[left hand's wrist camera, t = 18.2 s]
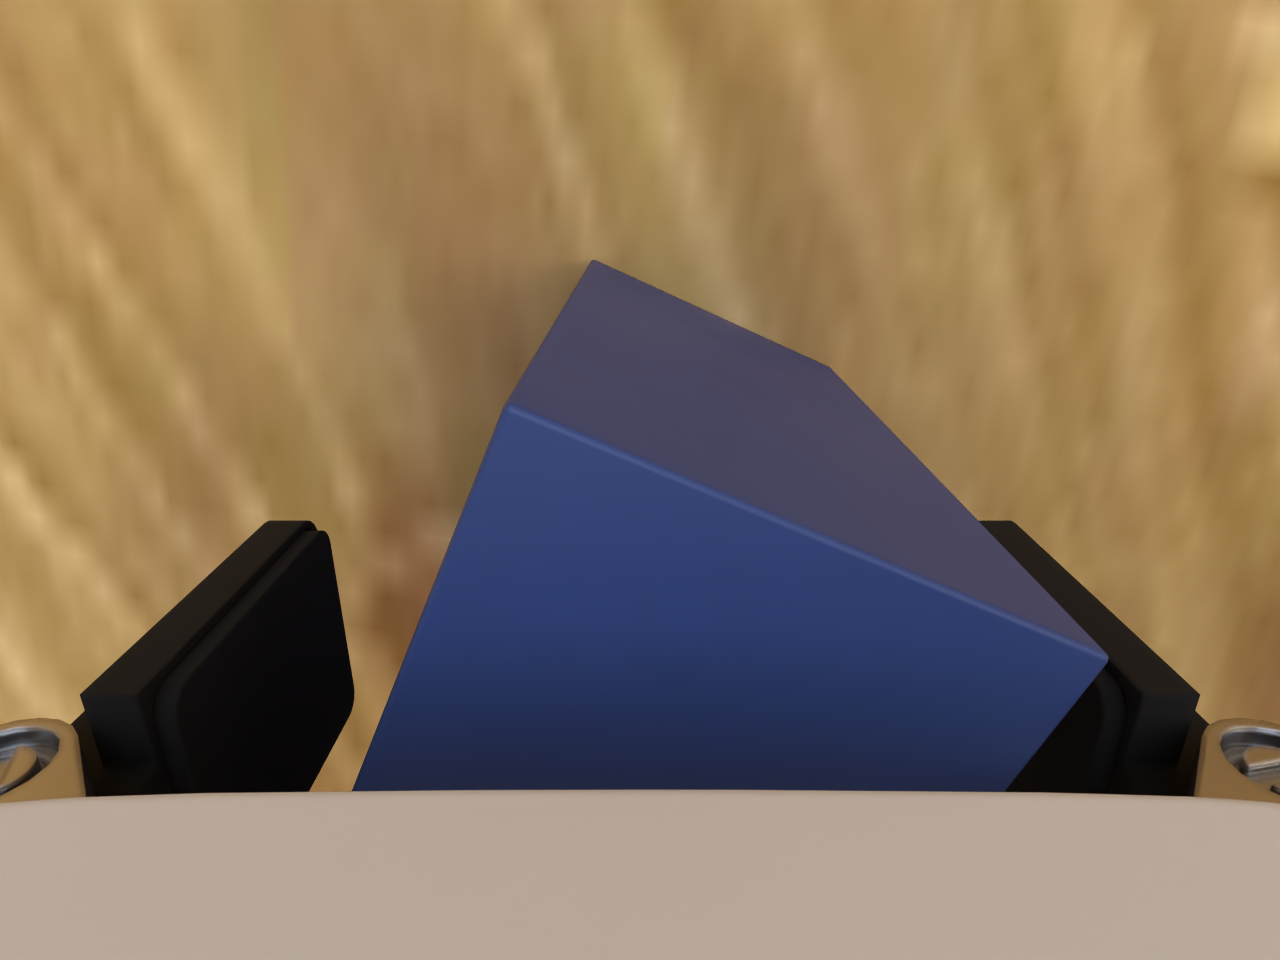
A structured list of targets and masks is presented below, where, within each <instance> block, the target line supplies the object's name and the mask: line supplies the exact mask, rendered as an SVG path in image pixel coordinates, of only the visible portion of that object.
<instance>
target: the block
mask: <svg viewBox="0 0 1280 960" xmlns="http://www.w3.org/2000/svg"><path fill="white" fill-rule="evenodd" d="M1108 659H1109V658H1108V655H1107V654H1106V653H1105V651H1104V650H1103V649H1102V648H1101V647H1100V646H1099V645H1098V644H1097V643H1096V642H1095V641H1094V640H1093V639H1092V638H1091V637H1090V636H1089V635H1088V634H1087V633H1086V632H1085V631H1084V630H1083V629H1082V628H1081V627H1080V626H1079V625H1078V623H1077V622H1076V621H1075V620H1074V619H1073V618H1072V617H1071V616H1070V615H1069V614H1068V613H1067V612H1066V611H1065V610H1064V609H1063V608H1062V607H1061V606H1060V605H1059V604H1058V603H1057V602H1056V601H1055V600H1054V599H1053V598H1052V597H1051V596H1050V595H1049V593H1048V592H1047V591H1046V590H1045V589H1044V588H1043V587H1042V586H1041V585H1040V584H1039V583H1038V582H1037V581H1036V580H1035V579H1034V578H1033V577H1032V576H1031V575H1030V574H1029V573H1028V572H1027V571H1026V570H1025V569H1024V568H1023V567H1022V566H1021V565H1020V564H1019V562H1018V561H1017V560H1016V559H1015V558H1014V557H1013V556H1012V555H1011V554H1010V553H1009V552H1008V551H1007V550H1006V549H1005V548H1004V547H1003V546H1002V545H1001V544H1000V543H999V542H998V541H997V540H996V539H995V538H994V537H993V536H992V535H991V534H990V533H989V531H988V530H987V529H986V528H985V527H984V526H983V525H982V524H981V523H980V522H979V521H978V520H977V519H976V518H975V517H974V516H973V515H972V514H971V513H970V512H969V511H968V510H967V509H966V508H965V507H964V506H963V505H962V504H961V503H960V502H959V500H958V499H957V498H956V497H955V496H954V495H953V494H952V493H951V492H950V491H949V490H948V489H947V488H946V487H945V486H944V485H943V484H942V483H941V482H940V481H939V480H938V479H937V478H936V477H935V476H934V475H933V474H932V473H931V472H930V470H929V469H928V468H927V467H926V466H925V465H924V464H923V463H922V462H921V461H920V460H919V459H918V458H917V457H916V456H915V455H914V454H913V453H912V452H911V451H910V450H909V449H908V448H907V447H906V446H905V445H904V444H903V443H902V442H901V441H900V439H899V438H898V437H897V436H896V435H895V434H894V433H893V432H892V431H891V430H890V429H889V428H888V427H887V426H886V425H885V424H884V423H883V422H882V421H881V420H880V419H879V418H878V417H877V416H876V415H875V414H874V413H873V412H872V411H871V410H870V408H869V407H868V406H867V405H866V404H865V403H864V402H863V401H862V400H861V399H860V398H859V397H858V396H857V395H856V394H855V393H854V392H853V391H852V390H851V389H850V388H849V387H848V386H847V385H846V384H845V383H844V382H843V381H842V380H841V379H840V377H839V376H838V375H837V374H836V373H835V372H834V371H833V370H832V369H831V368H830V367H828V366H825V365H823V364H821V363H819V362H817V361H815V360H812V359H810V358H808V357H806V356H804V355H801V354H799V353H797V352H795V351H793V350H790V349H788V348H786V347H784V346H782V345H780V344H777V343H775V342H773V341H771V340H769V339H766V338H764V337H762V336H760V335H758V334H755V333H753V332H751V331H749V330H747V329H745V328H742V327H740V326H738V325H736V324H734V323H731V322H729V321H727V320H725V319H723V318H721V317H718V316H716V315H714V314H712V313H710V312H707V311H705V310H703V309H701V308H699V307H696V306H694V305H692V304H690V303H688V302H686V301H683V300H681V299H679V298H677V297H675V296H672V295H670V294H668V293H666V292H664V291H661V290H659V289H657V288H655V287H653V286H651V285H648V284H646V283H644V282H642V281H640V280H637V279H635V278H633V277H631V276H629V275H626V274H624V273H622V272H620V271H618V270H616V269H613V268H611V267H609V266H607V265H605V264H602V263H600V262H598V261H596V260H592V261H591V263H590V264H589V266H588V268H587V269H586V271H585V273H584V274H583V276H582V278H581V279H580V281H579V283H578V284H577V286H576V288H575V289H574V291H573V293H572V294H571V296H570V298H569V299H568V301H567V302H566V304H565V306H564V307H563V309H562V311H561V312H560V314H559V316H558V317H557V319H556V321H555V322H554V324H553V326H552V327H551V329H550V331H549V332H548V334H547V336H546V337H545V339H544V341H543V342H542V344H541V346H540V347H539V349H538V351H537V352H536V354H535V356H534V357H533V359H532V361H531V362H530V364H529V366H528V367H527V369H526V371H525V372H524V374H523V376H522V377H521V379H520V380H519V382H518V384H517V385H516V387H515V389H514V390H513V392H512V394H511V395H510V397H509V399H508V400H507V402H506V404H505V405H504V407H503V409H502V412H501V414H500V417H499V419H498V422H497V425H496V427H495V430H494V432H493V435H492V437H491V440H490V442H489V445H488V447H487V450H486V452H485V455H484V458H483V460H482V463H481V465H480V468H479V470H478V473H477V475H476V478H475V480H474V483H473V485H472V488H471V490H470V493H469V496H468V498H467V501H466V503H465V506H464V508H463V511H462V513H461V516H460V518H459V521H458V523H457V526H456V529H455V531H454V534H453V536H452V539H451V541H450V544H449V546H448V549H447V551H446V554H445V556H444V559H443V561H442V564H441V567H440V569H439V572H438V574H437V577H436V579H435V582H434V584H433V587H432V589H431V592H430V594H429V597H428V600H427V602H426V605H425V607H424V610H423V612H422V615H421V617H420V620H419V622H418V625H417V627H416V630H415V632H414V635H413V638H412V640H411V643H410V645H409V648H408V650H407V653H406V655H405V658H404V660H403V663H402V665H401V668H400V671H399V673H398V676H397V678H396V681H395V683H394V686H393V688H392V691H391V693H390V696H389V698H388V701H387V703H386V706H385V709H384V711H383V714H382V716H381V719H380V721H379V724H378V726H377V729H376V731H375V734H374V736H373V739H372V741H371V744H370V747H369V749H368V752H367V754H366V757H365V759H364V762H363V764H362V767H361V769H360V772H359V774H358V777H357V780H356V782H355V785H354V787H353V790H352V791H439V790H817V791H930V792H1005V791H1006V789H1007V788H1008V787H1009V786H1010V784H1011V783H1012V782H1013V781H1014V779H1015V778H1016V777H1017V776H1018V774H1019V773H1020V772H1021V771H1022V769H1023V768H1024V767H1025V766H1026V764H1027V763H1028V762H1029V761H1030V759H1031V758H1032V757H1033V756H1034V754H1035V753H1036V752H1037V750H1038V749H1039V748H1040V747H1041V745H1042V744H1043V743H1044V742H1045V740H1046V739H1047V738H1048V737H1049V735H1050V734H1051V733H1052V732H1053V730H1054V729H1055V728H1056V727H1057V725H1058V724H1059V723H1060V722H1061V720H1062V719H1063V718H1064V716H1065V715H1066V714H1067V713H1068V711H1069V710H1070V709H1071V708H1072V706H1073V705H1074V704H1075V703H1076V701H1077V700H1078V699H1079V698H1080V696H1081V695H1082V694H1083V693H1084V691H1085V690H1086V689H1087V688H1088V686H1089V685H1090V684H1091V683H1092V681H1093V680H1094V679H1095V677H1096V676H1097V675H1098V674H1099V672H1100V671H1101V670H1102V669H1103V667H1104V666H1105V665H1106V664H1107V662H1108Z"/></svg>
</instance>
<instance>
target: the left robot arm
mask: <svg viewBox="0 0 1280 960" xmlns="http://www.w3.org/2000/svg"><path fill="white" fill-rule="evenodd" d="M979 522H980V523H981V524H982V525H983V526H984V527H985V528H986V529H987V530H988V531H989V533H990V534H991V535H992V536H993V537H994V538H995V539H996V540H997V541H998V542H999V543H1000V544H1001V545H1002V546H1003V547H1004V548H1005V549H1006V550H1007V551H1008V552H1009V553H1010V554H1011V555H1012V556H1013V557H1014V558H1015V559H1016V560H1017V561H1018V562H1019V564H1020V565H1021V566H1022V567H1023V568H1024V569H1025V570H1026V571H1027V572H1028V573H1029V574H1030V575H1031V576H1032V577H1033V578H1034V579H1035V580H1036V581H1037V582H1038V583H1039V584H1040V585H1041V586H1042V587H1043V588H1044V589H1045V590H1046V591H1047V592H1048V593H1049V595H1050V596H1051V597H1052V598H1053V599H1054V600H1055V601H1056V602H1057V603H1058V604H1059V605H1060V606H1061V607H1062V608H1063V609H1064V610H1065V611H1066V612H1067V613H1068V614H1069V615H1070V616H1071V617H1072V618H1073V619H1074V620H1075V621H1076V622H1077V623H1078V625H1079V626H1080V627H1081V628H1082V629H1083V630H1084V631H1085V632H1086V633H1087V634H1088V635H1089V636H1090V637H1091V638H1092V639H1093V640H1094V641H1095V642H1096V643H1097V644H1098V645H1099V646H1100V647H1101V648H1102V649H1103V650H1104V651H1105V653H1106V654H1107V655H1108V658H1109V659H1108V662H1107V664H1106V665H1105V666H1104V667H1103V669H1102V670H1101V671H1100V672H1099V674H1098V675H1097V676H1096V677H1095V679H1094V680H1093V681H1092V683H1091V684H1090V685H1089V686H1088V688H1087V689H1086V690H1085V691H1084V693H1083V694H1082V695H1081V696H1080V698H1079V699H1078V700H1077V701H1076V703H1075V704H1074V705H1073V706H1072V708H1071V709H1070V710H1069V711H1068V713H1067V714H1066V715H1065V716H1064V718H1063V719H1062V720H1061V722H1060V723H1059V724H1058V725H1057V727H1056V728H1055V729H1054V730H1053V732H1052V733H1051V734H1050V735H1049V737H1048V738H1047V739H1046V740H1045V742H1044V743H1043V744H1042V745H1041V747H1040V748H1039V749H1038V750H1037V752H1036V753H1035V754H1034V756H1033V757H1032V758H1031V759H1030V761H1029V762H1028V763H1027V764H1026V766H1025V767H1024V768H1023V769H1022V771H1021V772H1020V773H1019V774H1018V776H1017V777H1016V778H1015V779H1014V781H1013V782H1012V783H1011V784H1010V786H1009V787H1008V788H1007V789H1006V791H1005V792H930V791H817V790H439V791H350V792H309V790H310V788H311V787H312V785H313V783H314V781H315V779H316V777H317V775H318V774H319V772H320V770H321V768H322V766H323V764H324V762H325V761H326V759H327V757H328V755H329V753H330V751H331V749H332V747H333V746H334V744H335V742H336V740H337V738H338V736H339V734H340V733H341V731H342V729H343V727H344V725H345V723H346V721H347V720H348V718H349V716H350V713H351V711H352V707H353V702H354V684H353V678H352V672H351V666H350V660H349V654H348V647H347V641H346V635H345V629H344V623H343V617H342V611H341V605H340V599H339V592H338V586H337V580H336V574H335V568H334V562H333V556H332V550H331V544H330V539H329V536H328V534H327V533H326V532H325V531H317V529H316V527H315V525H314V524H313V523H312V522H311V521H268V522H266V523H264V524H263V525H262V526H261V527H260V528H259V529H258V530H257V531H256V532H255V533H254V534H253V535H251V536H250V537H249V538H248V539H247V540H246V541H245V542H244V543H243V544H242V545H241V546H240V547H238V548H237V549H236V550H235V551H234V552H233V553H232V554H231V555H230V556H229V557H228V558H227V559H226V560H224V561H223V562H222V563H221V564H220V565H219V566H218V567H217V568H216V569H215V570H214V571H213V572H212V573H210V574H209V575H208V576H207V577H206V578H205V579H204V580H203V581H202V582H201V583H200V584H199V585H198V586H196V587H195V588H194V589H193V590H192V591H191V592H190V593H189V594H188V595H187V596H186V597H185V598H184V599H182V600H181V601H180V602H179V603H178V604H177V605H176V606H175V607H174V608H173V609H172V610H171V611H170V612H168V613H167V614H166V615H165V616H164V617H163V618H162V619H161V620H160V621H159V622H158V623H157V624H156V625H154V626H153V627H152V628H151V629H150V630H149V631H148V632H147V633H146V634H145V635H144V636H143V637H142V638H140V639H139V640H138V641H137V642H136V643H135V644H134V645H133V646H132V647H131V648H130V649H129V650H128V651H126V652H125V653H124V654H123V655H122V656H121V657H120V658H119V659H118V660H117V661H116V662H115V663H114V664H112V665H111V666H110V667H109V668H108V669H107V670H106V671H105V672H104V673H103V674H102V675H101V676H99V677H98V678H97V679H96V680H95V681H94V682H93V683H92V684H91V685H90V686H89V687H88V688H87V689H85V690H84V691H83V692H82V693H81V694H80V697H81V700H82V703H83V706H84V709H85V711H84V712H83V713H82V714H81V715H80V716H79V717H78V718H77V719H76V720H75V721H74V722H73V723H72V724H71V725H70V724H68V723H66V722H63V721H61V720H57V719H47V718H35V719H26V720H17V721H13V722H9V723H5V724H1V725H0V960H1280V725H1279V724H1275V723H1271V722H1267V721H1263V720H1254V719H1245V718H1233V719H1223V720H1219V721H1217V722H1214V723H1212V724H1210V725H1209V724H1208V723H1207V722H1206V721H1205V720H1204V719H1203V718H1202V717H1201V716H1200V715H1199V714H1198V713H1197V712H1196V711H1195V709H1196V706H1197V703H1198V700H1199V697H1200V694H1199V693H1198V692H1197V691H1196V690H1195V689H1193V688H1192V687H1191V686H1190V685H1189V684H1188V683H1187V682H1186V681H1185V680H1184V679H1183V678H1182V677H1181V676H1179V675H1178V674H1177V673H1176V672H1175V671H1174V670H1173V669H1172V668H1171V667H1170V666H1169V665H1168V664H1167V663H1165V662H1164V661H1163V660H1162V659H1161V658H1160V657H1159V656H1158V655H1157V654H1156V653H1155V652H1154V651H1153V650H1151V649H1150V648H1149V647H1148V646H1147V645H1146V644H1145V643H1144V642H1143V641H1142V640H1141V639H1140V638H1139V637H1137V636H1136V635H1135V634H1134V633H1133V632H1132V631H1131V630H1130V629H1129V628H1128V627H1127V626H1126V625H1124V624H1123V623H1122V622H1121V621H1120V620H1119V619H1118V618H1117V617H1116V616H1115V615H1114V614H1113V613H1112V612H1110V611H1109V610H1108V609H1107V608H1106V607H1105V606H1104V605H1103V604H1102V603H1101V602H1100V601H1099V600H1098V599H1096V598H1095V597H1094V596H1093V595H1092V594H1091V593H1090V592H1089V591H1088V590H1087V589H1086V588H1085V587H1084V586H1082V585H1081V584H1080V583H1079V582H1078V581H1077V580H1076V579H1075V578H1074V577H1073V576H1072V575H1071V574H1070V573H1068V572H1067V571H1066V570H1065V569H1064V568H1063V567H1062V566H1061V565H1060V564H1059V563H1058V562H1057V561H1056V560H1054V559H1053V558H1052V557H1051V556H1050V555H1049V554H1048V553H1047V552H1046V551H1045V550H1044V549H1043V548H1042V547H1040V546H1039V545H1038V544H1037V543H1036V542H1035V541H1034V540H1033V539H1032V538H1031V537H1030V536H1029V535H1028V534H1026V533H1025V532H1024V531H1023V530H1022V529H1021V528H1020V527H1019V526H1018V525H1017V524H1016V523H1014V522H1012V521H979Z"/></svg>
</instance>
